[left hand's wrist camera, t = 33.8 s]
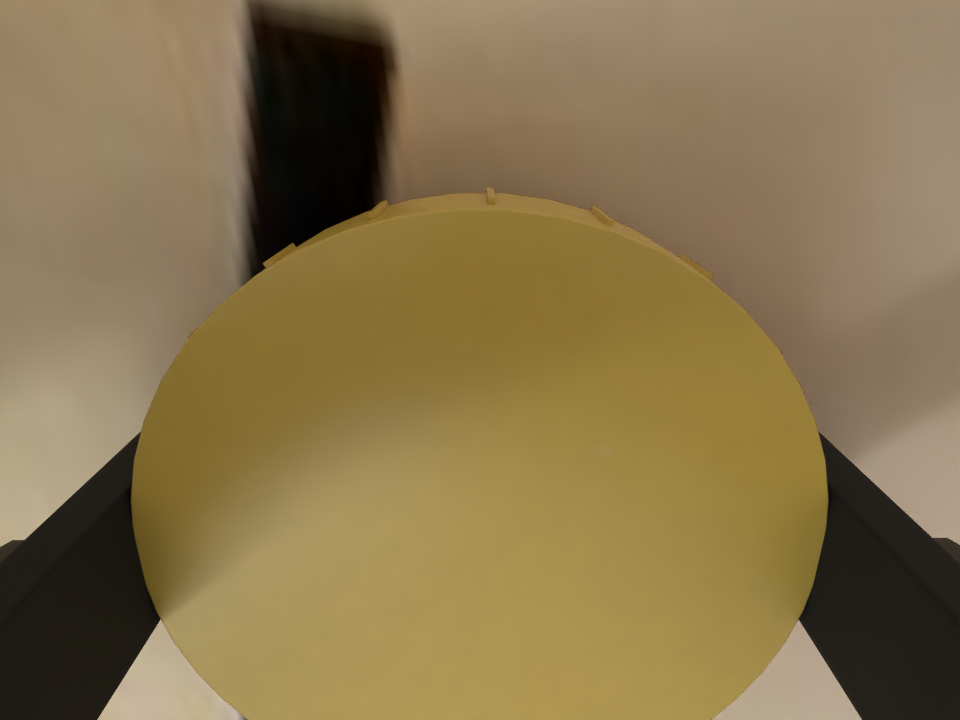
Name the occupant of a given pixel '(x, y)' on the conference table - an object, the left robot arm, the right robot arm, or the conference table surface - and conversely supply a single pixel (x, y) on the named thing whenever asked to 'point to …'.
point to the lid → (479, 476)
